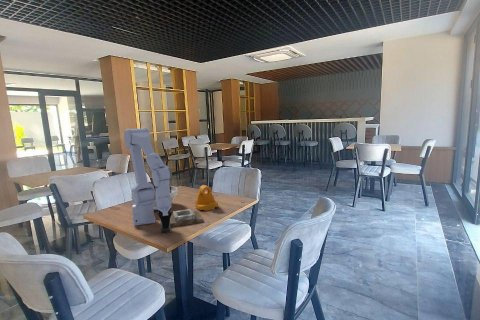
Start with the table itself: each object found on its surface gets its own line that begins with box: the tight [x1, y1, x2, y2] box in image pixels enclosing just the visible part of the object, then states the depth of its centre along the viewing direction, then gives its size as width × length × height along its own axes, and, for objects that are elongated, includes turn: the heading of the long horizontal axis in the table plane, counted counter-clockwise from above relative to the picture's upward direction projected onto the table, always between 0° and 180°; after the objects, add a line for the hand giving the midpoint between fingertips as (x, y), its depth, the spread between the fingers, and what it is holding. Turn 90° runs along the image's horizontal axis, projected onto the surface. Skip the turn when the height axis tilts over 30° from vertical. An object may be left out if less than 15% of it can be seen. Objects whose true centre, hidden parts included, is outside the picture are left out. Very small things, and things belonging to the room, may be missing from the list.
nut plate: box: [170, 208, 204, 228], centre depth 123 cm, size 16×12×4 cm
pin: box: [159, 218, 172, 234], centre depth 111 cm, size 4×4×7 cm
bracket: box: [194, 184, 219, 211], centre depth 139 cm, size 11×7×12 cm, turn 119°
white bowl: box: [129, 180, 179, 211], centre depth 143 cm, size 25×25×15 cm
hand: (165, 226), depth 111 cm, fingers closed on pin, 4 cm apart
